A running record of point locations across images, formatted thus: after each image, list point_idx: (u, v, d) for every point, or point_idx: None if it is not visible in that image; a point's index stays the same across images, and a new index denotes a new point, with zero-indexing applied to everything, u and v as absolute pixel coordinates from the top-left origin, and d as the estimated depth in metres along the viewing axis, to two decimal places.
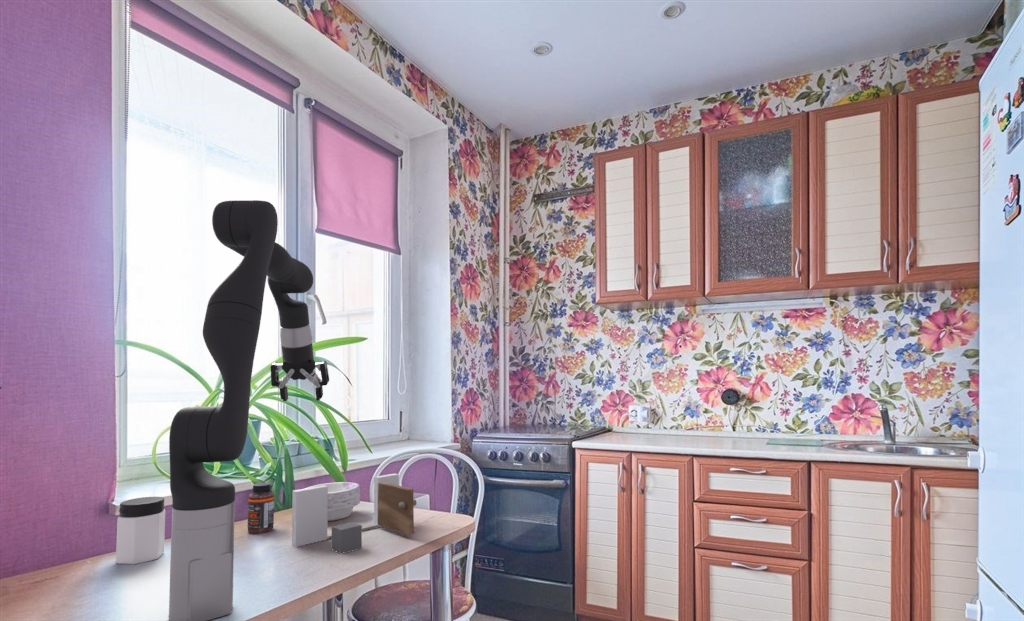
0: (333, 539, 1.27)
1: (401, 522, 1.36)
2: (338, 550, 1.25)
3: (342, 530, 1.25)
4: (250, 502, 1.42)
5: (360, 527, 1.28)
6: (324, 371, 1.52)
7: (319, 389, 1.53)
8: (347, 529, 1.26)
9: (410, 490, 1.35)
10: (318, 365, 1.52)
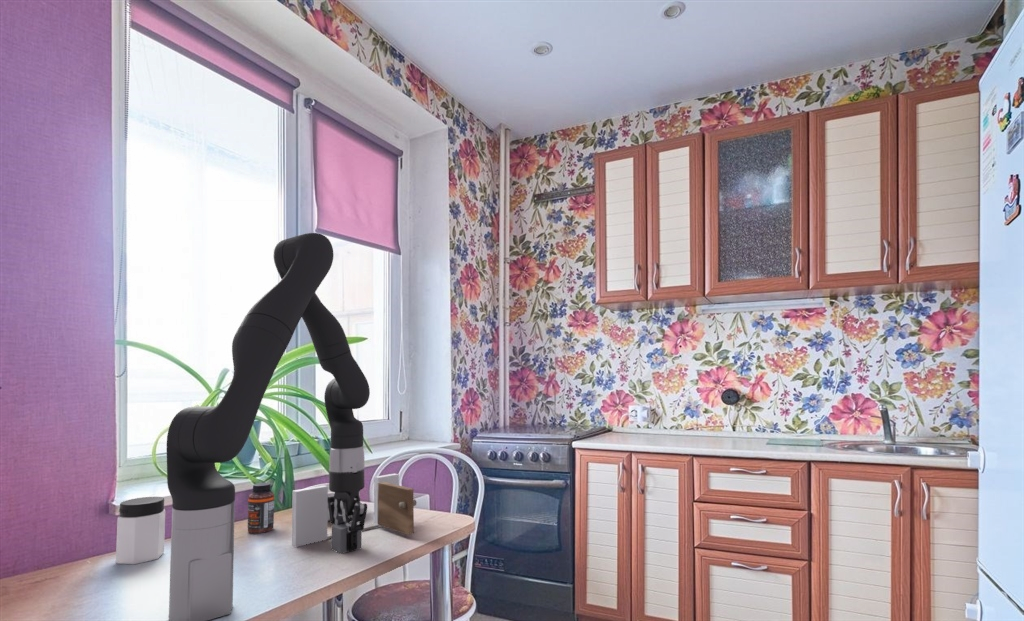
0: (333, 538, 1.27)
1: (401, 522, 1.36)
2: (338, 549, 1.25)
3: (342, 529, 1.25)
4: (250, 502, 1.42)
5: None
6: (355, 515, 1.23)
7: (350, 536, 1.25)
8: None
9: (410, 490, 1.35)
10: (356, 505, 1.24)
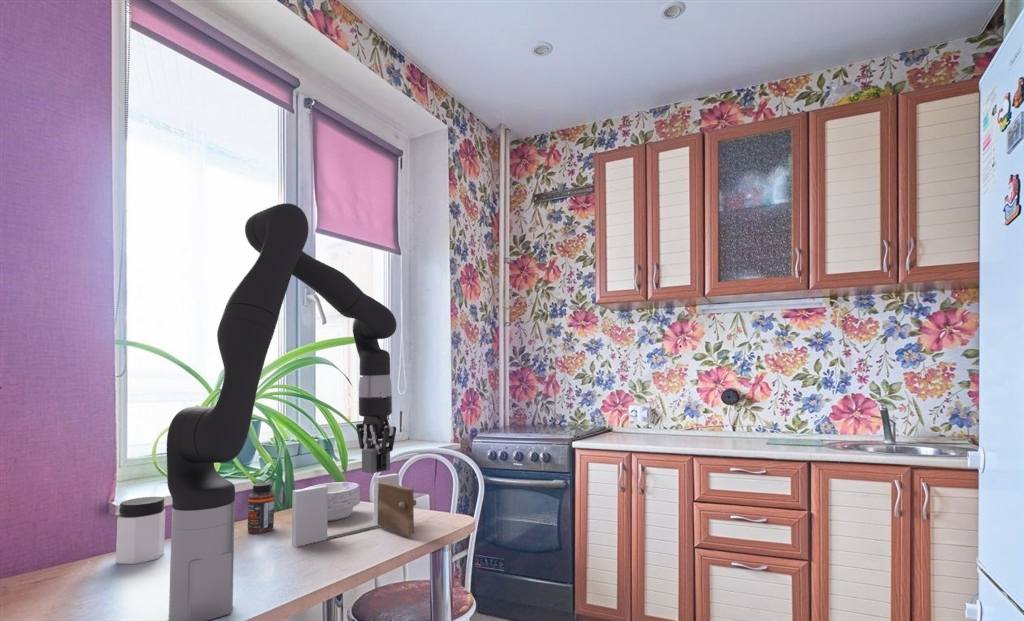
0: (363, 461, 1.34)
1: (401, 522, 1.36)
2: (368, 470, 1.32)
3: (372, 451, 1.32)
4: (250, 502, 1.42)
5: None
6: (385, 436, 1.30)
7: (380, 457, 1.32)
8: None
9: (410, 490, 1.35)
10: (385, 427, 1.32)
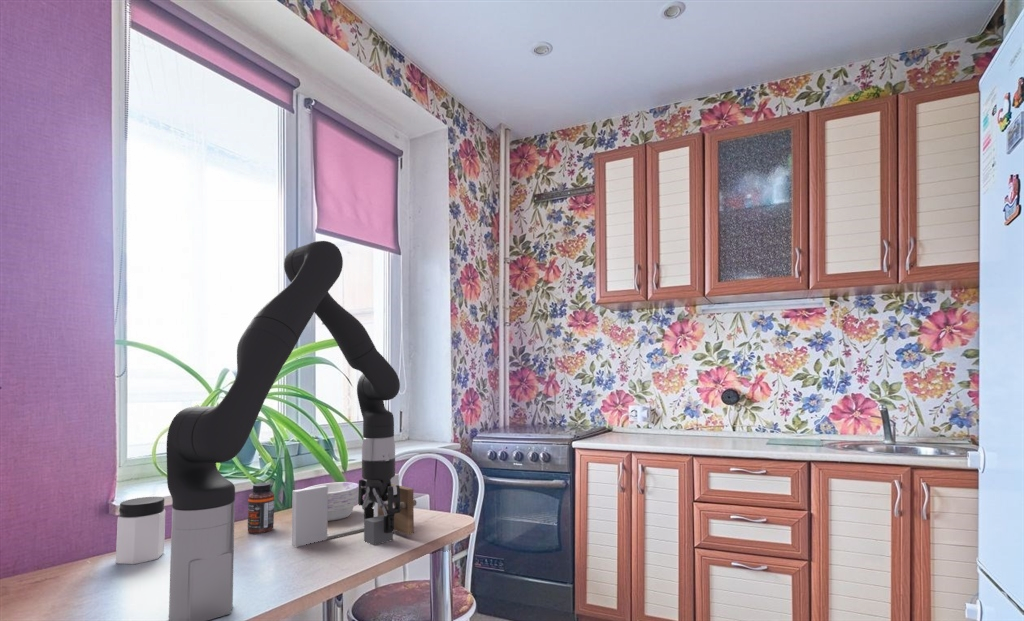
0: (366, 531, 1.32)
1: (401, 522, 1.36)
2: (371, 542, 1.30)
3: (375, 522, 1.31)
4: (250, 502, 1.42)
5: None
6: (390, 496, 1.28)
7: (387, 519, 1.30)
8: (379, 521, 1.31)
9: (410, 490, 1.35)
10: None
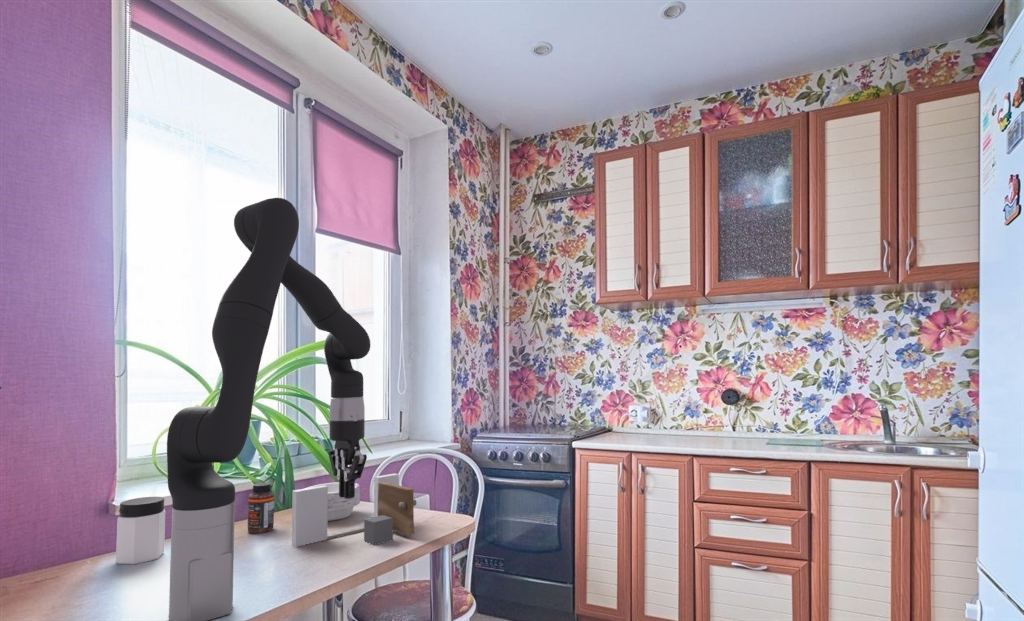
0: (366, 531, 1.32)
1: (401, 522, 1.36)
2: (371, 542, 1.30)
3: (375, 522, 1.31)
4: (250, 502, 1.42)
5: (391, 520, 1.34)
6: (354, 465, 1.24)
7: (347, 484, 1.27)
8: (379, 521, 1.31)
9: (410, 490, 1.35)
10: (356, 454, 1.26)
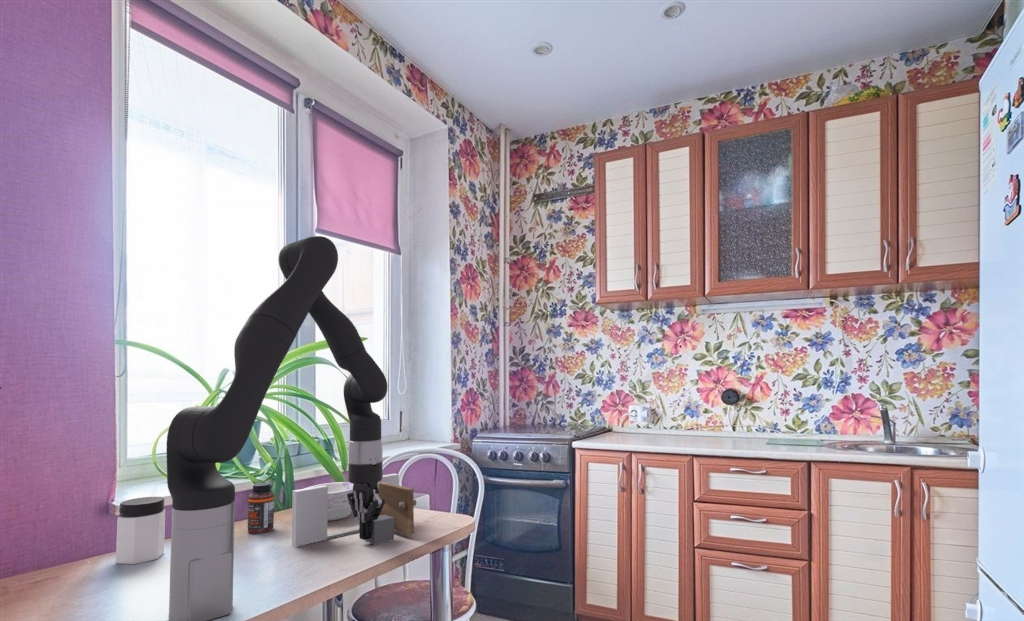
0: None
1: (401, 522, 1.36)
2: (372, 541, 1.31)
3: (376, 522, 1.31)
4: (250, 502, 1.42)
5: (392, 519, 1.34)
6: (372, 509, 1.27)
7: (364, 525, 1.30)
8: (381, 521, 1.32)
9: (410, 490, 1.35)
10: (374, 498, 1.28)
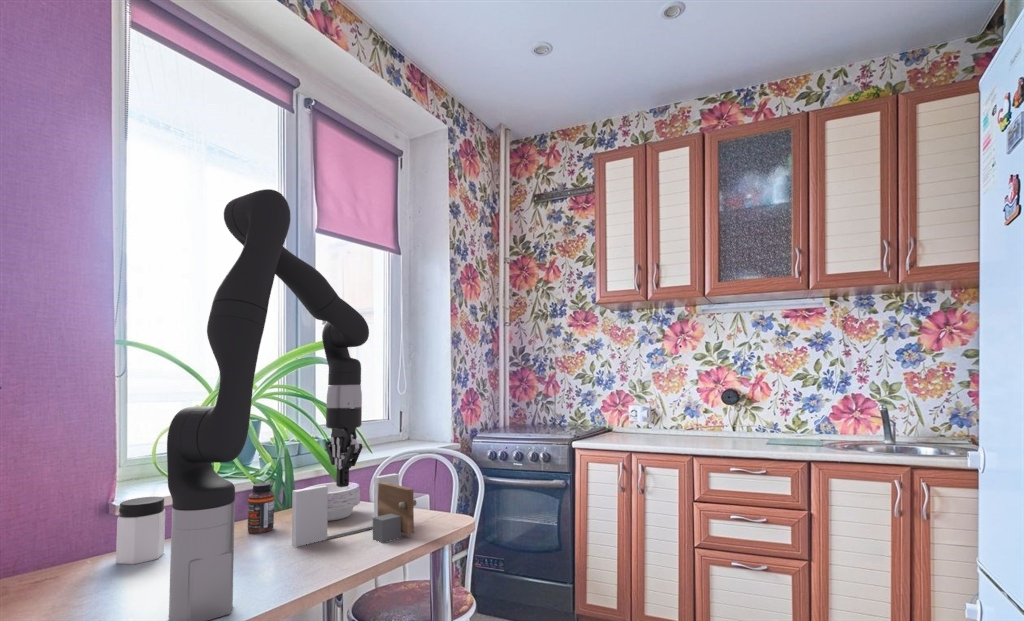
0: (374, 529, 1.34)
1: (401, 522, 1.36)
2: (379, 539, 1.32)
3: (383, 520, 1.32)
4: (250, 502, 1.42)
5: (399, 518, 1.35)
6: (349, 453, 1.23)
7: (342, 472, 1.26)
8: (388, 520, 1.33)
9: (410, 490, 1.35)
10: (352, 443, 1.24)
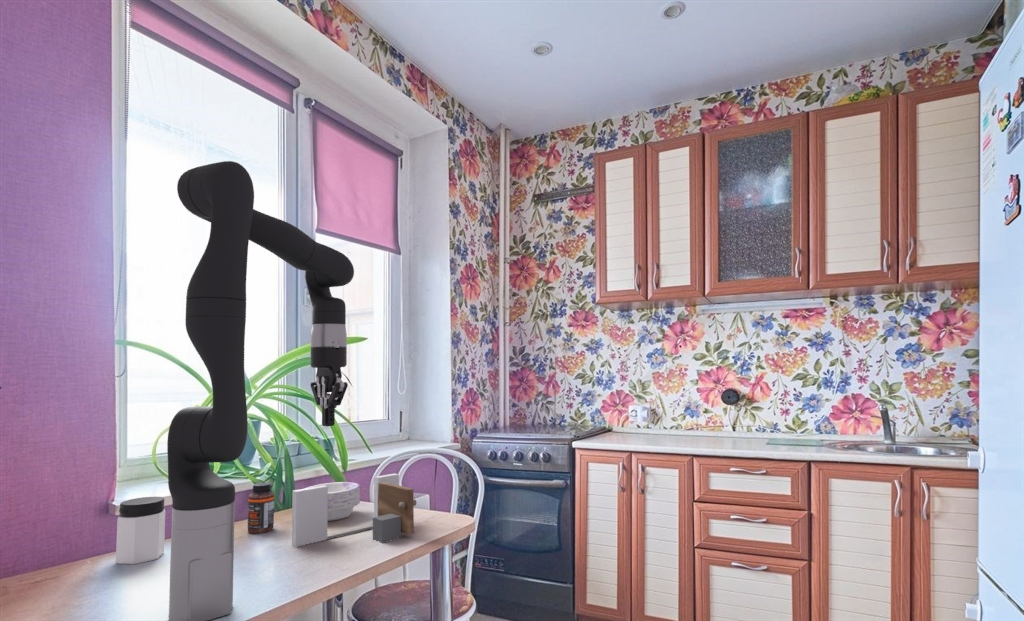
0: (374, 529, 1.34)
1: (401, 522, 1.36)
2: (379, 539, 1.32)
3: (383, 520, 1.32)
4: (250, 502, 1.42)
5: (399, 518, 1.35)
6: (334, 392, 1.22)
7: (327, 411, 1.25)
8: (388, 520, 1.33)
9: (410, 490, 1.35)
10: (337, 381, 1.23)
